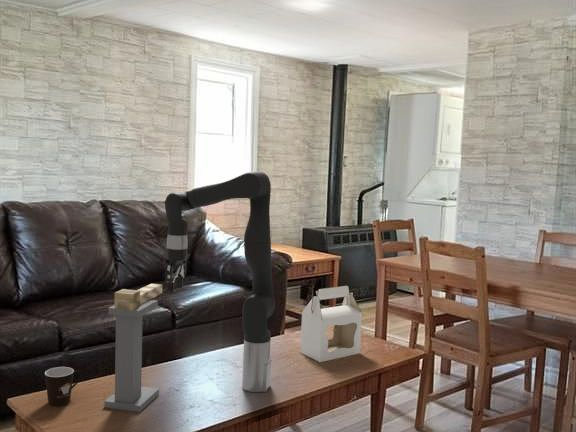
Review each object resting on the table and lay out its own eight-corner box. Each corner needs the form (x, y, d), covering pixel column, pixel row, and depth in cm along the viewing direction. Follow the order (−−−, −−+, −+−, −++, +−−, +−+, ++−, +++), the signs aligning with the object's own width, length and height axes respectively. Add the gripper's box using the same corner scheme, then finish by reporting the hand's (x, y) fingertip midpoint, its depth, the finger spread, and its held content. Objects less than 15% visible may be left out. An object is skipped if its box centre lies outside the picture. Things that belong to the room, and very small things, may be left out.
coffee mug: (45, 409, 180) (46, 378, 179) (43, 399, 187) (43, 369, 186) (85, 403, 185) (85, 373, 184) (81, 393, 193) (81, 364, 192)
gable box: (339, 344, 256) (343, 281, 253) (360, 353, 245) (364, 288, 242) (299, 352, 243) (302, 286, 240) (319, 362, 232) (322, 293, 229)
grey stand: (158, 394, 195) (160, 300, 191) (139, 412, 181) (141, 311, 178) (125, 390, 197) (127, 297, 194) (104, 407, 183) (105, 307, 180)
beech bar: (148, 291, 203) (149, 277, 202) (164, 293, 202) (165, 279, 201) (114, 308, 180) (114, 292, 179) (132, 310, 178) (132, 294, 178)
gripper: (179, 250, 206) (177, 295, 208) (193, 244, 220) (191, 287, 222) (159, 248, 207) (157, 293, 209) (175, 243, 221) (173, 285, 223)
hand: (175, 290), depth 215 cm, fingers open, 8 cm apart
